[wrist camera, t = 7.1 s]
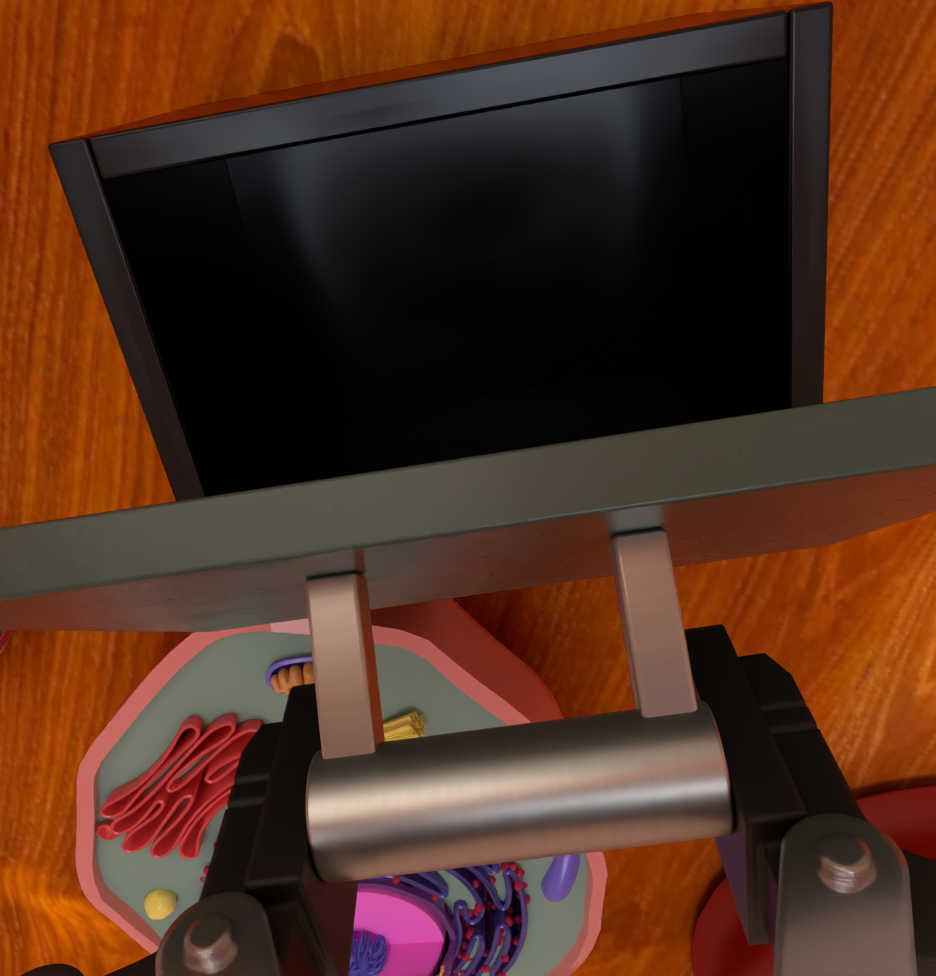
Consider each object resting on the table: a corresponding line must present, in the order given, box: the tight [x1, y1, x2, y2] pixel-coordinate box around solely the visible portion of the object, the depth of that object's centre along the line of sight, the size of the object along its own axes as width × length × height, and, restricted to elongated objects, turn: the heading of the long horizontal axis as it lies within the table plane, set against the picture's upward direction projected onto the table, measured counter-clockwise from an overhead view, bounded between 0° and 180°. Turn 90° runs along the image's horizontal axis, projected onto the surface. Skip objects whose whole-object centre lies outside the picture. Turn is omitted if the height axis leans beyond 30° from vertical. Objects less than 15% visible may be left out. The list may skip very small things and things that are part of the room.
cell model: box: [75, 598, 607, 976], centre depth 30 cm, size 17×20×11 cm
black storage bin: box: [48, 1, 833, 501], centre depth 23 cm, size 11×15×10 cm
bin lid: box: [0, 386, 936, 883], centre depth 14 cm, size 11×15×5 cm
